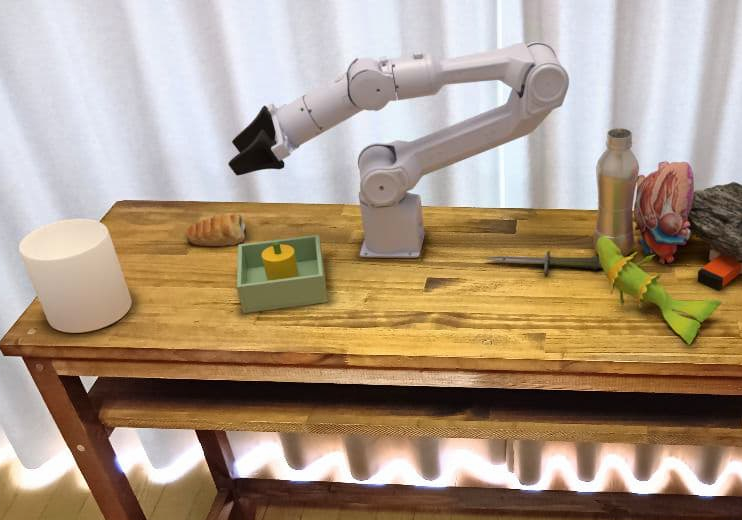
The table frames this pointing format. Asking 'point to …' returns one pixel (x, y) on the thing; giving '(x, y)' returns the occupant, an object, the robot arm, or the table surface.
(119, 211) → the table surface
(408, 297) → the table surface
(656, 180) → the anatomical model
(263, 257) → the pepper
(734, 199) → the rock
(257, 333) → the table surface
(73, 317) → the cup
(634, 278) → the toy
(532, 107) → the robot arm
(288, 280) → the basket
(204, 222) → the pastry
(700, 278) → the toy
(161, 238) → the table surface
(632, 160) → the plastic bottle
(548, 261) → the knife
